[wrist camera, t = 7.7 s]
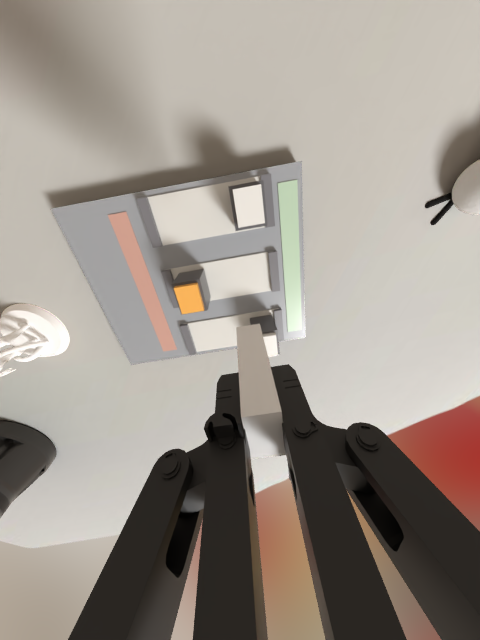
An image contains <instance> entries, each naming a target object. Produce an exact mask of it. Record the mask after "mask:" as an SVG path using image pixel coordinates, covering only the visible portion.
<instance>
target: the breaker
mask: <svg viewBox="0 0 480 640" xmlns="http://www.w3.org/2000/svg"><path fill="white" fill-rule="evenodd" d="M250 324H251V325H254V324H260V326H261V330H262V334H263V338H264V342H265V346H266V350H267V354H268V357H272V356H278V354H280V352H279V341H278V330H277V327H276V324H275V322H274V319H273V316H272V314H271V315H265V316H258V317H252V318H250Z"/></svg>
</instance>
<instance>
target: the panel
mask: <svg viewBox="0 0 480 640" xmlns="http://www.w3.org/2000/svg"><path fill="white" fill-rule="evenodd" d="M260 180H263V181H264V192H265V203H266V213H267V224H268V225H267V226H262V227H256V228H251V229H245V230H240V231H235V225H234V218H233V212H232V206H231V200H230V194H229V187H228V186H234V185H239V184H244V183H249V182H255V181H260ZM51 211H52V213H53V214H54V216H55V218H56V220H57V222H58V224H59V226H60V228H61V230H62V232H63V234H64V236H65V238H66V240H67V242H68V244H69V246H70V247H71V249H72V251H73V253H74V255H75V257H76V259H77V261H78V263H79V265H80V267H81V269H82V271H83V273H84V275H85V277H86V279H87V280H88V282H89V284H90V286H91V288H92V290H93V292H94V294H95V296H96V298H97V300H98V302H99V304H100V306H101V308H102V310H103V312H104V313H105V315H106V317H107V319H108V321H109V323H110V325H111V327H112V329H113V331H114V333H115V335H116V337H117V339H118V341H119V343H120V345H121V346H122V348H123V350H124V352H125V354H126V356H127V358H128V360H129V362H130V364H131V365H134V364H140V363H146V362H153V361H159V360H166V359H172V358H179V357H185V356H191V355H198V354H204V353H211V352H217V351H224V350H230V349H236V348H237V332H236V327H241V326H248V325H251V324H250V318H252V317H258V316H265V315H271V314H272V316H273V319H274V322H275V324H276V327H277V330H278V341H279V342H281V341H288V340H294V339H301V338H306V334H305V290H304V245H303V201H302V161H299V162H293V163H288V164H283V165H278V166H272V167H267V168H262V169H257V170H251V171H246V172H241V173H236V174H230V175H225V176H220V177H215V178H209V179H204V180H199V181H194V182H188V183H183V184H178V185H173V186H167V187H162V188H157V189H152V190H146V191H141V192H136V193H131V194H126V195H120V196H115V197H110V198H105V199H99V200H94V201H89V202H84V203H78V204H73V205H68V206H63V207H57V208H52V209H51ZM199 269H204V271H205V275H206V279H207V283H208V287H209V291H210V295H211V298H210V303H209V307H208V310H207V311H201V312H195V313H189V314H183V315H181V312H180V309H179V306H178V303H177V300H176V297H175V294H174V291H173V288H172V285H171V284H172V282H173V281H174V280H175V278H176V277H177V275H178V274H179V273H182V272H188V271H193V270H199Z"/></svg>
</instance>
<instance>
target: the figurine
mask: <svg viewBox="0 0 480 640" xmlns="http://www.w3.org/2000/svg"><path fill="white" fill-rule="evenodd" d="M0 331H1V334H2V335H3V337H0V349H1V347H3V346H4V345H9V344H10V345H11V346H13V347H12V348H8V349H5V350H2V351H0V371H1V370H2V368H3V365H4V364H5V363H6V362H8V361H9V360H10V359H11V358H13V357H14V356H19V355H21V354H22V352H23V353H25V354H28V355H30V356H28V357H14V358H13V359H14V360H16V361H20V362H27V361H31V360H33V359H35V358H37V357H48V356H55V355H58V354H61V353H62V352H64V351H65V350H66V349H67V347H68V345H69V340H70V339H69V333H68V331H67V329H66V327H65V326H64V324H63V323H62V322H61V321H60V320H59V319H58V318H57V317H56V316H55V315H54V314H52V313H51V312H49V311H47V310H45V309H43V308H41V307H38V306H35V305H31V304H14V305H11V306H9V307H7V308H6V309H5V310H4V311H3V313H2V314H1V318H0ZM11 369H12V368H9V369H7V370H5V371H2V372H0V377H1V376H4V375H6V374H8V373H11V372H13V371H14V370H16V369H13V370H11ZM10 370H11V371H10Z"/></svg>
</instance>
